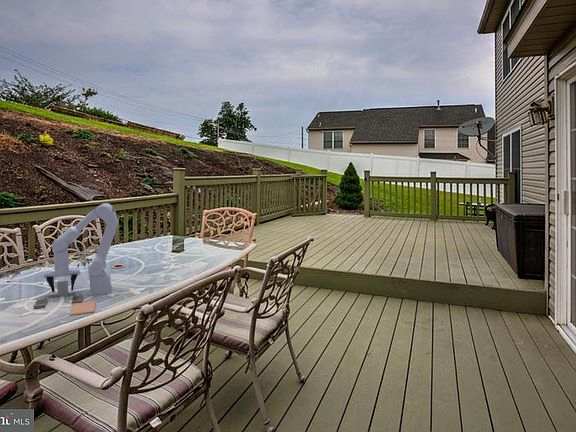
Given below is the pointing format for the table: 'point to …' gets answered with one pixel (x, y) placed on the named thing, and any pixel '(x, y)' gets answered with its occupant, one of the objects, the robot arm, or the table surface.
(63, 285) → the plug
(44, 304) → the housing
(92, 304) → the mat
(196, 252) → the table surface
